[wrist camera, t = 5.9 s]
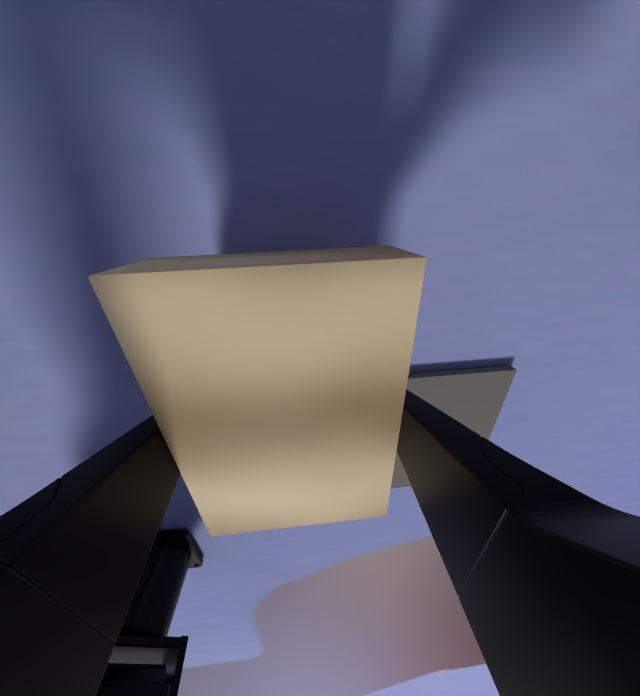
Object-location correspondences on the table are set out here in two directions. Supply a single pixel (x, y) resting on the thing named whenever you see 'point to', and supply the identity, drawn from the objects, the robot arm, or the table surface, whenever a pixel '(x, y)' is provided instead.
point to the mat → (461, 400)
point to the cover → (273, 376)
